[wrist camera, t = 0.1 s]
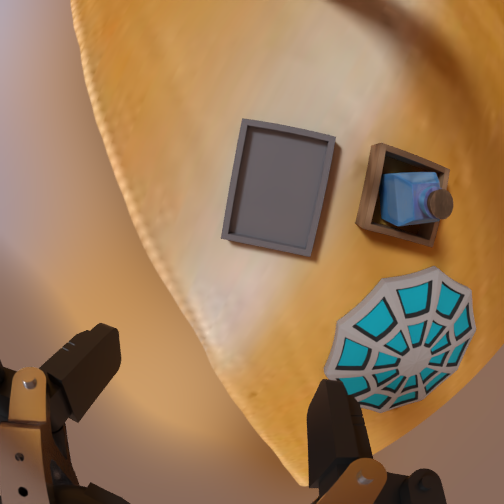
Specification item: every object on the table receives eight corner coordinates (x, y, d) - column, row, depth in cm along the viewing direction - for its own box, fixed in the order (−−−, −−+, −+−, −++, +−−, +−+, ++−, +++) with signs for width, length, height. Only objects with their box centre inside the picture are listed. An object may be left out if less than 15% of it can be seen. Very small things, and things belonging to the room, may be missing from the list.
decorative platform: (296, 321, 41) (297, 338, 36) (452, 232, 34) (469, 239, 30) (357, 422, 47) (361, 439, 42) (473, 358, 40) (483, 371, 35)
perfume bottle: (376, 174, 34) (415, 175, 22) (414, 171, 33) (461, 173, 21) (381, 218, 35) (419, 237, 24) (417, 214, 34) (463, 230, 23)
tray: (244, 121, 34) (242, 118, 32) (332, 138, 33) (335, 136, 31) (224, 235, 38) (221, 238, 36) (308, 252, 38) (310, 256, 36)
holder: (371, 145, 33) (381, 142, 29) (435, 169, 32) (449, 169, 28) (355, 223, 36) (363, 228, 32) (420, 240, 35) (432, 247, 31)
